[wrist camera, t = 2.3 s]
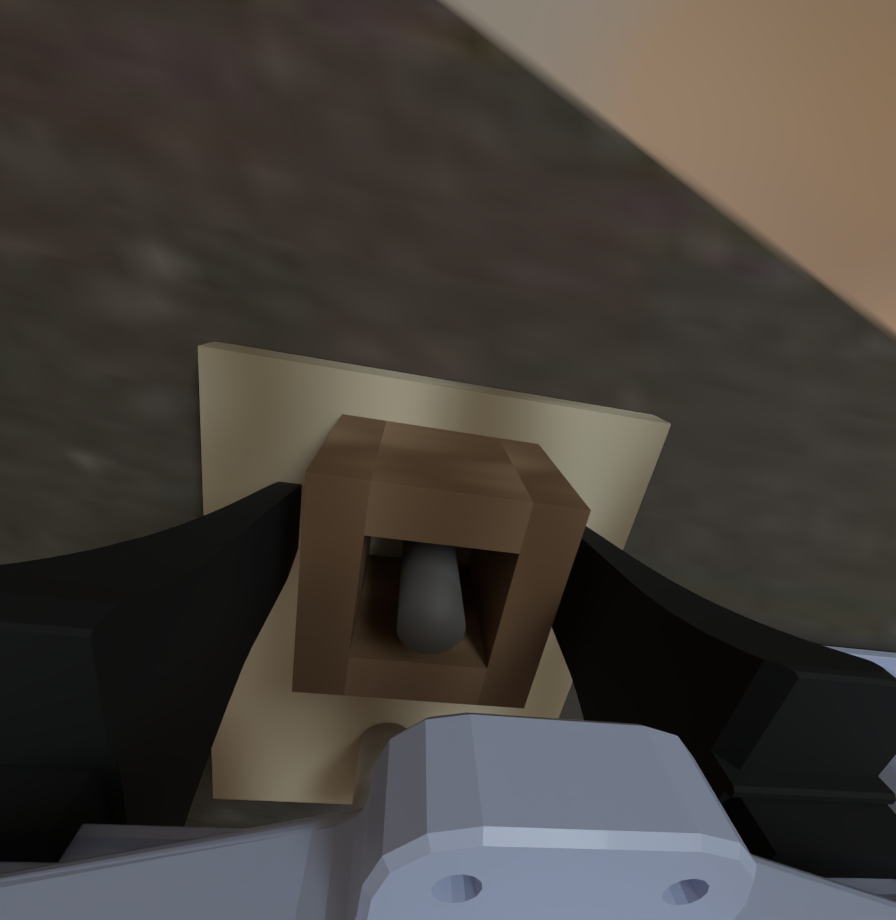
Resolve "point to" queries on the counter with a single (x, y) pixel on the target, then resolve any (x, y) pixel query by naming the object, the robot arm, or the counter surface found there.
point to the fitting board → (380, 549)
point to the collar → (439, 522)
